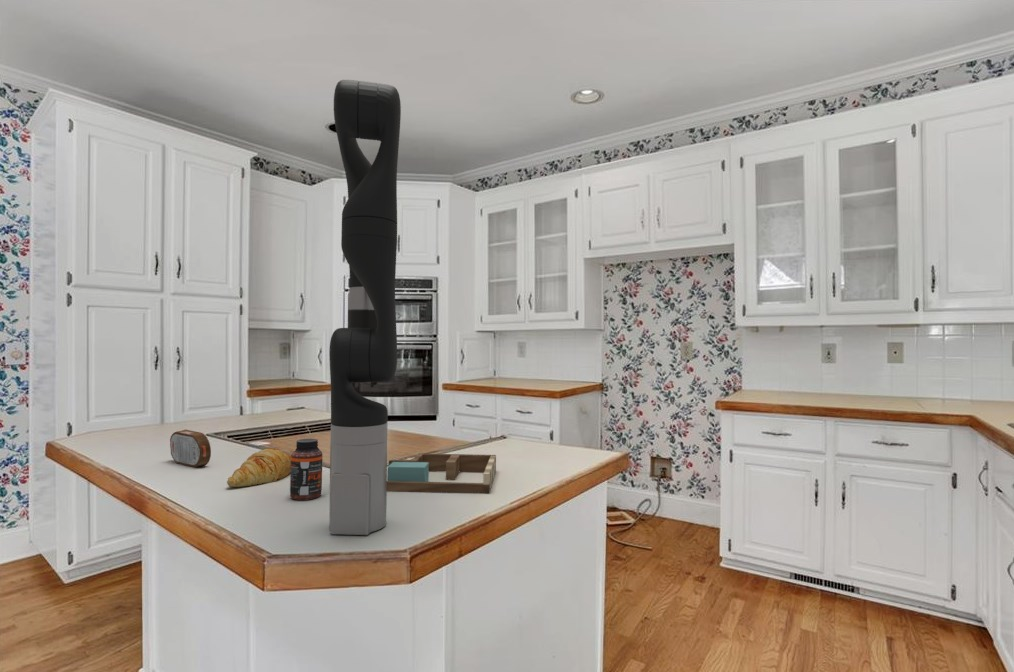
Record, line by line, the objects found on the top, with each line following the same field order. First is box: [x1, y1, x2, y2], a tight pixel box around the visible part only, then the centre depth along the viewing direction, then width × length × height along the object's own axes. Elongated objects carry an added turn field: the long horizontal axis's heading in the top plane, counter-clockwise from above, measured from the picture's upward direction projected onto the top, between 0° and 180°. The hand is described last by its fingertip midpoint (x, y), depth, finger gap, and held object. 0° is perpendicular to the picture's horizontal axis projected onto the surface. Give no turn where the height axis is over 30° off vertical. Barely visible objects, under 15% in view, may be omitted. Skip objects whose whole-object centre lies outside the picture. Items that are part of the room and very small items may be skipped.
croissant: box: [226, 448, 291, 488], centre depth 120 cm, size 21×10×8 cm, turn 165°
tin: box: [169, 429, 212, 468], centre depth 133 cm, size 15×3×8 cm, turn 58°
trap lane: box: [387, 453, 497, 494], centre depth 119 cm, size 19×24×4 cm
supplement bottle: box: [289, 438, 323, 501], centre depth 106 cm, size 6×6×11 cm
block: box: [387, 462, 430, 482], centre depth 116 cm, size 5×8×4 cm, turn 89°
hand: (364, 386), depth 117 cm, fingers open, 3 cm apart
